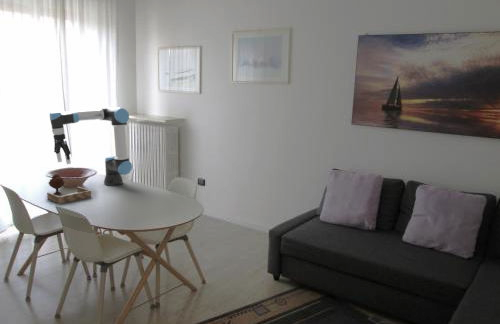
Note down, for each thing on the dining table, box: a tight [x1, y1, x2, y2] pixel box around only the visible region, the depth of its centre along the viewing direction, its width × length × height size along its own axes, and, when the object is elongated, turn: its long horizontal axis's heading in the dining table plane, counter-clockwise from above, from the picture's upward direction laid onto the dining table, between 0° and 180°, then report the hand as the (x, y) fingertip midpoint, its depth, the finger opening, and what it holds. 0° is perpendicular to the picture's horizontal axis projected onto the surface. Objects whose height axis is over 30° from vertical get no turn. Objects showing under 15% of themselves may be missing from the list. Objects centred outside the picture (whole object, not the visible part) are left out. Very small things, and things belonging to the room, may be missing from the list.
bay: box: [46, 186, 92, 205], centre depth 299 cm, size 24×17×5 cm
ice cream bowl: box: [48, 173, 66, 196], centre depth 309 cm, size 11×11×15 cm
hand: (64, 162), depth 295 cm, fingers open, 13 cm apart
